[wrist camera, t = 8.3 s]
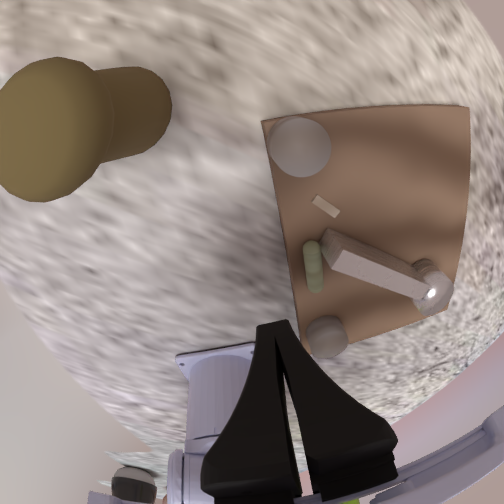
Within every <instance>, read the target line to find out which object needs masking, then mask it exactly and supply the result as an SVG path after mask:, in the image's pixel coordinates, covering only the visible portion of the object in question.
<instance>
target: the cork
mask: <svg viewBox="0 0 504 504" xmlns="http://www.w3.org/2000/svg"><path fill="white" fill-rule="evenodd" d="M171 110H172V103H171V98H170V92H169V90H168V88H167V87H166V85H165V83H164V82H163V80H162V79H161V78H160V77H159V76H157V75H156V74H155V73H154V72H152V71H150V70H147V69H144V68H141V67H120V68H111V69H103V70H95V71H93V70H92V69H91V68H90V67H88V66H87V65H86V64H84V63H83V62H80V61H76V60H71V59H67V58H62V57H53V58H48V59H43V60H39V61H36V62H33V63H30V64H29V65H27V66H26V67H24V68H22V69H21V70H19V71H18V72H17V73H15V74H14V75H13V76H12V77H11V78H10V79H9V80H8V81H7V83H6V84H5V85H4V86H3V88H2V89H1V90H0V184H1V185H2V186H3V187H4V188H5V189H6V190H7V191H8V192H9V193H10V194H12V195H14V196H17V197H19V198H21V199H23V200H26V201H29V202H49V201H52V200H55V199H58V198H61V197H64V196H67V195H70V194H71V193H72V192H73V191H75V190H76V189H77V188H78V187H80V186H81V185H82V184H83V183H84V182H86V181H87V180H88V179H89V178H91V177H92V175H93V174H94V172H95V171H96V169H97V168H98V166H99V165H100V164H101V163H104V162H108V161H112V160H116V159H120V158H124V157H129V156H132V155H136V154H139V153H143V152H144V151H146V150H147V149H149V148H150V147H152V146H154V145H155V144H156V143H157V141H158V140H159V139H160V138H161V137H162V136H163V134H164V133H165V131H166V128H167V126H168V124H169V122H170V118H171Z"/></svg>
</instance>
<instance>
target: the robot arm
mask: <svg viewBox="0 0 504 504" xmlns="http://www.w3.org/2000/svg"><path fill="white" fill-rule="evenodd" d="M175 362H176V363H177V365H178V367H179V368H180V370H181V371H182V373H183V374H184V376H185V377H186V379H187V380H188V382H189V390H188V407H187V426H186V440H185V453H183V450H182V449H176V450H175V452H173V453H171V454H170V455H169V461H168V474H167V504H341V503H344V502H348V501H351V500H355V499H358V498H361V497H364V496H367V495H370V494H373V493H376V492H379V491H381V490H384V489H387V488H389V487H392V486H394V485H397V484H399V483H401V484H399V485H397V486H395V487H393V488H391V489H388V490H386V491H384V492H382V493H379V494H377V495H376V496H375V497H376V498H374V499H372V500H371V501H370V504H442V503H444V502H446V501H447V500H449V499H451V498H453V497H454V496H456V495H458V494H459V493H461V492H462V491H464V490H466V489H467V488H469V487H470V486H472V485H474V484H475V483H476V482H478V481H479V480H481V479H482V478H484V477H485V476H487V475H488V474H489V473H491V472H492V471H493V470H495V469H496V468H497V467H499V466H500V465H501V464H502V463H504V406H502V407H501V408H499V409H498V410H497V411H495V412H494V413H492V414H491V415H490V416H489V417H487V419H485V421H484V422H483V423H482V425H480V426H478V427H477V428H475V429H474V430H472V431H470V432H469V433H467V434H466V435H464V436H462V437H460V438H459V439H457V440H455V441H453V442H452V443H450V444H448V445H446V446H444V447H442V448H440V449H439V450H437V451H435V452H433V453H431V454H429V455H427V456H424V457H422V458H420V459H418V460H416V461H414V462H411V463H409V464H407V465H404V466H402V467H400V468H397V469H396V467H395V464H394V460H395V458H394V455H393V452H392V451H393V449H394V448H395V446H396V445H397V442H398V439H397V436H396V434H395V433H394V431H393V429H392V428H391V426H390V425H389V424H388V422H387V421H386V420H385V419H384V418H382V417H380V416H379V415H377V414H375V413H374V412H372V411H371V410H369V409H368V408H366V407H365V406H363V405H362V404H360V403H359V402H358V401H356V400H355V399H354V398H352V397H351V396H350V395H349V394H347V393H346V392H345V391H344V390H342V389H341V388H340V387H339V386H338V385H337V384H336V383H335V382H334V381H333V380H332V379H331V378H330V377H329V376H328V375H327V374H326V373H325V372H324V371H323V370H322V369H321V368H320V367H319V366H318V365H317V363H316V362H315V361H314V360H313V359H312V357H311V356H310V355H309V353H308V352H307V351H306V349H305V348H304V347H303V345H302V344H301V342H300V341H299V339H298V338H297V336H296V335H295V333H294V331H293V329H292V327H291V325H290V323H289V321H288V320H286V319H285V320H280V321H276V322H272V323H267V324H262V325H258V326H257V328H256V341H255V343H249V344H244V345H238V346H233V347H228V348H222V349H216V350H210V351H204V352H198V353H192V354H185V355H178V356H176V357H175ZM283 373H284V375H283ZM284 376H285V379H286V382H287V385H288V388H289V392H290V395H291V398H292V401H293V404H294V407H295V410H296V414H297V418H298V422H299V427H300V432H301V436H302V441H303V446H304V451H305V456H306V460H307V465H308V470H309V475H310V480H311V485H312V490H313V495H309V496H304V497H302V495H301V494H302V493H303V492H302V487H301V482H300V477H299V472H298V467H297V463H296V458H295V453H294V448H293V442H292V437H291V432H290V427H289V422H288V416H287V406H286V396H285V385H284ZM404 481H405V482H404ZM402 482H404V483H402ZM87 504H147V503H139V502H131V501H125V500H121V499H119V498H117V497H115V496H111V495H107V494H103V493H98V492H93V491H90V492H89V496H88V503H87Z"/></svg>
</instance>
